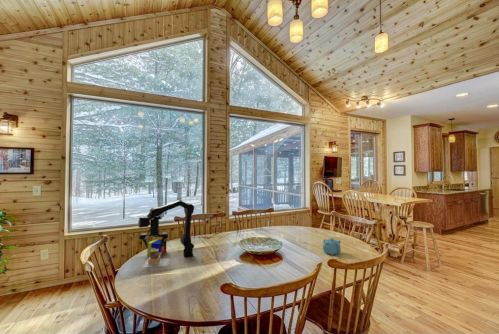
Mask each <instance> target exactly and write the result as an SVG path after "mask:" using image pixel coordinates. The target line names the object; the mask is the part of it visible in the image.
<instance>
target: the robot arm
mask: <svg viewBox="0 0 499 334" xmlns="http://www.w3.org/2000/svg"><path fill="white" fill-rule="evenodd" d="M178 207H182V208H183V211H184V215H185V217H184V227H183V235H181V236H180V240H179V241H180V243H181V245H183V252H182V253H183V258H187V257H188V258H190V257H192V258H193V256H194V247H195V245H194V244H193V243H192V237H191V224H192V215H193V213H194V211H195V205H193V204H192V203H189V202H188V203H187V202H185V201H183V200H181V199H178V200H175V201H172V202H169V203H167V204H164V205H162V206H161V205H160V206H155V207H151V208H150V210H149V213H147V215H146V216H145V217H144V216H143V217H140V216H139V219H138V222H137V224H138V228H139V229H140V228H149V230H148V231H149V234H148V233H146V232H145V233H143V232H142V233H140V234H139V238H138V239H139V240H141V241H142V242H143V243H144V245H145V248H146V249H147V248H148V243H149V242H148V238H160V237H161V239H160V240H161V247H162V244H163V241H164V240H167V239H169V236H170V234H169V231H168V232H167V231H166V232H165V231H164V232H162V233H160V231H161V228H160V220H162V219H163V217H162V216H161V215H162V214H164V213H165V212H167V211H169V210H172V209H175V208H178Z"/></svg>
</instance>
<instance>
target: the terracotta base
mask: <svg viewBox="0 0 499 334" xmlns="http://www.w3.org/2000/svg"><path fill="white" fill-rule="evenodd" d="M160 259H161V255H159V257H158V259H150V256H149V258H148V259H147V260H148V264H155V263H159V262H160Z"/></svg>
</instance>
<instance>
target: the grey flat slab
mask: <svg viewBox="0 0 499 334" xmlns="http://www.w3.org/2000/svg"><path fill="white" fill-rule="evenodd" d="M170 259H171V257H170V258H169V257H167V258H166V257H165V258H160V262H159V263H155V264H148V259H146V260H145V262H144V264H143V265H142V268H155V267H168V265H169V263H170Z"/></svg>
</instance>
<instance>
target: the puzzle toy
mask: <svg viewBox="0 0 499 334" xmlns="http://www.w3.org/2000/svg"><path fill="white" fill-rule="evenodd" d="M151 249H159V255H160V256H162V255H163V254H165V253H167V239H165V240H164V241H163V244H162V247H161V239H155V238H154V239H152V240H151V241H149V242H148V248H146V255H147V256H150V251H151Z"/></svg>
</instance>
